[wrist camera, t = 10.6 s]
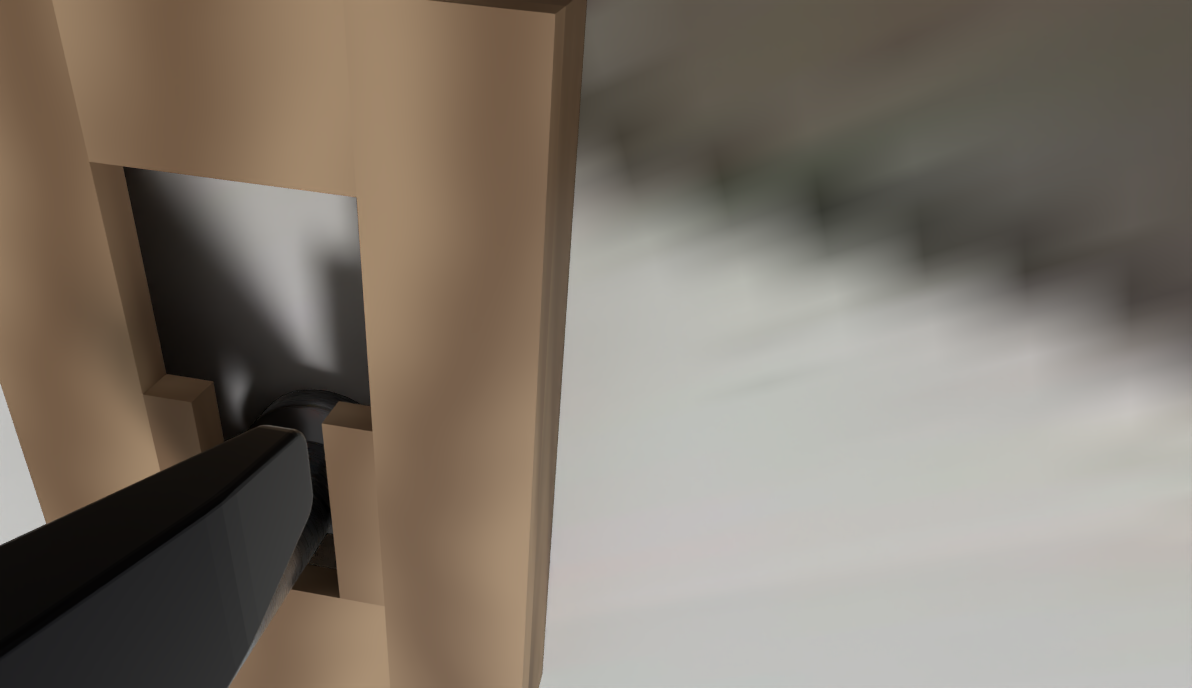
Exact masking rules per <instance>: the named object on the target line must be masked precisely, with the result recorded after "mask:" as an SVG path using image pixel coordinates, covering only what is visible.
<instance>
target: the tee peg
mask: <svg viewBox="0 0 1192 688" xmlns="http://www.w3.org/2000/svg"><path fill="white" fill-rule="evenodd" d="M339 401H341V402H347V403H353V404H359V403H357V402H356V401H354V400H352V399H349V398H347V397H345V396H342V395H339V394H336V393H332V392H328V391H322V390H301V391H295V392H292V393H288V394H286V395H284V396H282V397H280V398H278V399H277V400H275V401H274V402H273V403H272V404H271V405H270V406H269V407H268V408H267V409H266V410H265V411H264V412H263V413H262V415H261V416H260V417H259V418H258V419H257V420H256V421H255V422H254V424H253V425H252V426H251V427H250V429H249V430H251V429H253V428H255V427H258V426H261V425H272V426H278V427H284V428H290V429H296V430H298V431H300V432H301V433H302V434H303V435H304V437H305V439H306V442H307V448H308V456H309V465H310V473H311V482H312V490H313V501H312V507H311V511H310V515H309V518H308V520H307V522H306V525H305V527H304V529H303V531H302V534H301V536H300V538H299V540H298V543H297V545H296V547H295V549H294V552H293V554H292V556H291V558H290V561H289V563H288V565H287V567H286V570H285V572H284V574H283V576H282V579H281V581H280V583H279V585H278V588H277V590H276V592H275V594H274V597H273V599H272V601H271V603H270V606H269V608H268V610H267V612H266V615H265V617H264V619H263V621H262V624H261V626H260V628H259V630H258V632H257V634H256V637H255V639H254V641H253V643H252V645H251V647H250V649H249V651H248V653H247V655H246V656H245V658H244V660H243V662H242V664H241V666H240V667H239V669H238V671H237V673H238V672H239V670H240V669H241V667H242V665H243V664H244V662H245V661H246V659H247V658H248V656H249V654H250V653H251V651H252V650H253V648H254V647H255V645H256V643H257V642H258V640H259V639H260V637H261V636H262V634H263V632H264V631H265V629H266V628H267V626H268V625H269V623H270V622H271V620H272V618H273V617H274V615H275V614H276V612H277V611H278V609H279V607H280V606H281V604H282V603H283V601H284V600H285V598H286V596H287V595H288V593H289V592H290V590H291V589H292V587H293V585H294V584H295V582H296V581H297V579H298V578H299V576H300V574H301V573H302V571H303V570H304V568H305V567H306V565H307V564H308V562H309V560H310V559H311V557H312V556H313V554H314V553H315V551H316V549H317V548H318V546H319V545H320V543H321V542H322V540H323V538H324V537H325V535H326V534H327V533H331V534H333V527H332V517H331V508H330V498H329V489H328V479H327V470H326V460H325V450H324V441H323V431H322V422H323V421H324V420H325V418H326V417H327V416H328V415H329V413H330V412H331V411H332V409H333V408H334V407H335V405H336V404H337V403H338V402H339ZM360 405H361V404H360ZM249 430H248V431H249ZM237 673H236V675H237ZM236 675H235V676H236ZM235 676H234V678H235ZM234 678H233V680H234ZM233 680H232V681H233ZM232 681H231V683H232ZM231 683H230V684H231ZM229 686H230V685H229Z"/></svg>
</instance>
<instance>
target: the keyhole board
mask: <svg viewBox="0 0 1192 688" xmlns="http://www.w3.org/2000/svg"><path fill="white" fill-rule="evenodd" d="M586 7H587V0H0V384H1V387H2V390H3V393H4V396H5V399H6V402H7V405H8V408H9V411H10V414H11V417H12V420H13V423H14V426H15V429H16V432H17V435H18V439H19V442H20V445H21V448H22V451H23V454H24V457H25V460H26V463H27V466H28V469H29V472H30V475H31V478H32V481H33V484H34V487H35V490H36V493H37V497H38V500H39V503H40V506H41V509H42V512H43V515H44V518H45V521H46V524H47V523H50V522H52V521H54V520H56V519H58V518H60V517H63V516H65V515H67V514H69V513H71V512H73V511H76V510H78V509H80V508H82V507H84V506H86V505H89V504H91V503H93V502H95V501H97V500H99V499H102V498H104V497H106V496H108V495H110V494H112V493H115V492H117V491H119V490H121V489H123V488H125V487H128V486H130V485H132V484H134V483H136V482H138V481H140V480H143V479H145V478H147V477H149V476H151V475H153V474H156V473H158V472H160V471H162V470H164V469H166V468H169V467H171V466H173V465H175V464H177V463H179V462H182V461H184V460H186V459H188V458H190V457H192V456H195V455H197V454H199V453H201V452H203V451H205V450H208V449H210V448H212V447H214V446H216V445H218V444H221V443H223V442H224V439H223V433H222V427H221V422H220V416H219V410H218V405H217V399H216V394H215V388H214V382H213V381H208V380H201V379H195V378H189V377H182V376H176V375H170V374H166V370H165V365H164V360H163V355H162V351H161V346H160V341H159V336H158V332H157V327H156V322H155V317H154V313H153V308H152V303H151V298H150V293H149V289H148V284H147V279H146V274H145V270H144V265H143V260H142V255H141V251H140V246H139V241H138V236H137V231H136V227H135V222H134V217H133V212H132V208H131V203H130V198H129V193H128V189H127V184H126V179H125V174H124V169H123V166H125V167H132V168H140V169H147V170H155V171H163V172H170V173H178V174H185V175H193V176H200V177H208V178H215V179H223V180H230V181H238V182H245V183H253V184H260V185H268V186H275V187H283V188H290V189H298V190H306V191H313V192H321V193H328V194H336V195H343V196H351V197H357V211H358V226H359V241H360V255H361V270H362V284H363V299H364V313H365V328H366V343H367V357H368V372H369V386H370V401H371V406H366V405H360V404H353V403H347V402H341V401H339V402H338V403H337V404H336V405H335V407H334V408H333V409H332V411H331V412H330V413H329V415H328V416H327V417H326V418H325V420H324V421H323V422H322V431H323V441H324V450H325V460H326V470H327V479H328V489H329V498H330V508H331V517H332V527H333V536H334V546H335V555H336V565H337V569H331V568H325V567H320V566H314V565H309V564H307V565H306V567H305V568H304V570H303V571H302V573H301V574H300V576H299V578H298V579H297V581H296V582H295V584H294V585H293V587H292V589H291V590H290V592H289V593H288V595H287V596H286V598H285V600H284V601H283V603H282V604H281V606H280V607H279V609H278V611H277V612H276V614H275V615H274V617H273V618H272V620H271V622H270V623H269V625H268V626H267V628H266V629H265V631H264V632H263V634H262V636H261V637H260V639H259V640H258V642H257V643H256V645H255V647H254V648H253V650H252V651H251V653H250V654H249V656H248V658H247V659H246V661H245V662H244V664H243V665H242V667H241V669H240V670H239V672H238V673H237V675H236V676H235V678H234V680H233V681H232V683H231V684H230V686H229V687H228V688H539V684H540V680H541V677H542V670H543V655H544V640H545V625H546V610H547V595H548V580H549V565H550V549H551V534H552V519H553V504H554V489H555V474H556V459H557V444H558V429H559V414H560V399H561V384H562V369H563V354H564V339H565V324H566V308H567V293H568V278H569V263H570V248H571V233H572V218H573V203H574V188H575V173H576V158H577V143H578V128H579V113H580V98H581V83H582V68H583V52H584V37H585V22H586Z"/></svg>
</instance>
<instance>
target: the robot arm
mask: <svg viewBox="0 0 1192 688" xmlns="http://www.w3.org/2000/svg"><path fill="white" fill-rule="evenodd" d="M312 501H313V490H312V482H311V473H310V465H309V456H308V448H307V442H306V439H305V437H304V435H303V434H302V433H301V432H300V431H298V430H296V429H290V428H284V427H278V426H272V425H261V426H258V427H255V428H253V429H251V430H249V431H247V432H244V433H242V434H240V435H238V436H236V437H234V438H231V439H229V440H227V441H225V442H223V443H221V444H218V445H216V446H214V447H212V448H210V449H208V450H205V451H203V452H201V453H199V454H197V455H195V456H192V457H190V458H188V459H186V460H184V461H182V462H179V463H177V464H175V465H173V466H171V467H169V468H166V469H164V470H162V471H160V472H158V473H156V474H153V475H151V476H149V477H147V478H145V479H143V480H140V481H138V482H136V483H134V484H132V485H130V486H128V487H125V488H123V489H121V490H119V491H117V492H115V493H112V494H110V495H108V496H106V497H104V498H102V499H99V500H97V501H95V502H93V503H91V504H89V505H86V506H84V507H82V508H80V509H78V510H76V511H73V512H71V513H69V514H67V515H65V516H63V517H60V518H58V519H56V520H54V521H52V522H50V523H47V524H45V525H43V526H41V527H39V528H37V529H34V530H32V531H30V532H28V533H26V534H24V535H21V536H19V537H17V538H15V539H13V540H11V541H8V542H6V543H4V544H2V545H0V688H228V687H229V685H230V683H231V681H232V680H233V678H234V676H235V675H236V673H237V671H238V669H239V667H240V666H241V664H242V662H243V660H244V658H245V656H246V655H247V653H248V651H249V649H250V647H251V645H252V643H253V641H254V639H255V637H256V634H257V632H258V630H259V628H260V626H261V624H262V621H263V619H264V617H265V615H266V612H267V610H268V608H269V606H270V603H271V601H272V599H273V597H274V594H275V592H276V590H277V588H278V585H279V583H280V581H281V579H282V576H283V574H284V572H285V570H286V567H287V565H288V563H289V561H290V558H291V556H292V554H293V552H294V549H295V547H296V545H297V543H298V540H299V538H300V536H301V534H302V531H303V529H304V527H305V525H306V522H307V520H308V518H309V515H310V511H311V507H312Z"/></svg>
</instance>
